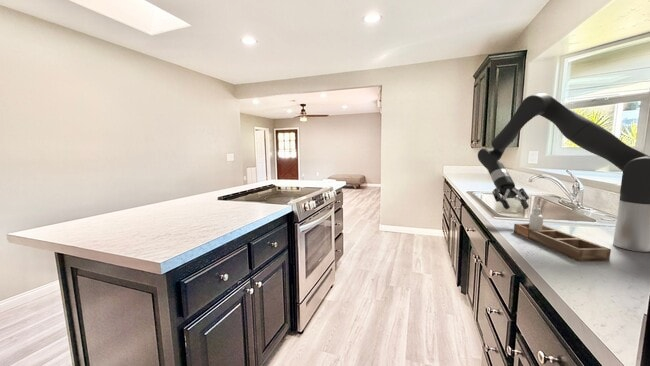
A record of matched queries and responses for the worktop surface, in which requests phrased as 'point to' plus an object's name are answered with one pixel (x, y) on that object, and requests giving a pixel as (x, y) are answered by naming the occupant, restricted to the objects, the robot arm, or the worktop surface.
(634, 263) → the worktop surface
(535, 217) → the eye dropper bottle
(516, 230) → the walnut rack
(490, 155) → the robot arm
